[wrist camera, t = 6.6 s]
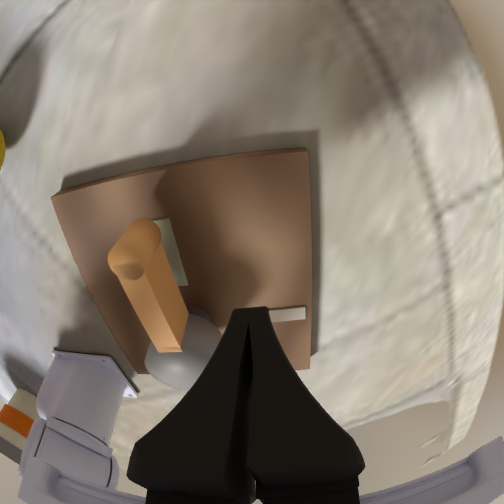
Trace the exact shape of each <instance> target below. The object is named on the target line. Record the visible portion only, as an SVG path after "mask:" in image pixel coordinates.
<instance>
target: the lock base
mask: <svg viewBox="0 0 504 504" xmlns="http://www.w3.org/2000/svg"><path fill="white" fill-rule="evenodd" d="M51 200H52V203H53V206H54V209H55V212H56V215H57V217H58V220H59V223H60V225H61V228H62V231H63V233H64V236H65V238H66V241H67V243H68V245H69V248H70V250H71V253H72V255H73V257H74V259H75V262H76V264H77V266H78V268H79V270H80V273H81V275H82V277H83V279H84V281H85V283H86V285H87V287H88V289H89V291H90V293H91V295H92V297H93V299H94V301H95V303H96V305H97V307H98V309H99V310H100V312H101V314H102V316H103V318H104V320H105V321H106V323H107V325H108V327H109V328H110V330H111V332H112V333H113V335H114V337H115V339H116V340H117V342H118V344H119V345H120V347H121V348H122V350H123V352H124V353H125V355H126V356H127V358H128V359H129V361H130V363H131V364H132V366H133V367H134V369H135V370H136V372H137V373H138V374H150V373H149V372H148V370H147V369H146V366H145V357H146V354H147V351H148V348H149V345H150V342H151V339H150V337H149V335H148V334H147V332H146V330H145V328H144V327H143V325H142V323H141V321H140V319H139V317H138V316H137V314H136V312H135V310H134V308H133V306H132V304H131V302H130V300H129V298H128V297H127V295H126V293H125V291H124V289H123V287H122V285H121V282H120V280H119V278H118V276H117V275H116V274H115V273H114V272H113V271H112V270H111V268H110V266H109V264H108V254H109V252H110V250H111V249H112V248H113V246H114V245H115V244H116V242H117V241H118V240H119V238H120V237H121V236H122V235H123V233H124V232H125V231H126V229H127V228H128V227H129V226H130V224H131V223H132V222H133V221H134V220H136V219H138V218H147V219H150V220H152V221H153V222H155V223H156V224H157V225H158V227H159V228H160V230H161V234H162V238H161V243H162V246H163V249H164V251H165V254H166V257H167V260H168V262H169V265H170V268H171V270H172V273H173V275H174V278H175V281H176V283H177V286H178V288H179V291H180V293H181V296H182V298H183V301H184V303H185V306H186V308H187V311H188V313H189V314H193V315H197V316H200V317H202V318H205V319H206V320H208V321H210V322H211V323H213V324H214V325H215V326H216V327H217V328H218V329H219V331H220V332H221V334H222V336H223V333H224V331H225V329H226V327H227V324H228V322H229V319H230V317H231V314H232V311H233V310H234V309H238V308H250V307H261V306H266V307H268V308H269V315H270V319H271V322H272V325H273V328H274V331H275V333H276V336H277V338H278V340H279V342H280V344H281V346H282V349H283V351H284V352H285V354H286V356H287V358H288V360H289V362H290V363H291V365H292V367H293V368H294V370H304V369H310V354H311V325H312V224H311V195H310V175H309V158H308V151H307V150H306V149H305V147H303V148H289V149H278V150H267V151H257V152H249V153H240V154H232V155H225V156H218V157H211V158H204V159H198V160H192V161H186V162H180V163H175V164H169V165H164V166H159V167H154V168H149V169H144V170H140V171H135V172H131V173H126V174H122V175H118V176H113V177H109V178H105V179H101V180H98V181H94V182H90V183H86V184H83V185H79V186H76V187H72V188H69V189H65V190H62V191H59V192H58V193H56V194H55V195H53V196H52V197H51Z"/></svg>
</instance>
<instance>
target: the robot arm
mask: <svg viewBox="0 0 504 504" xmlns="http://www.w3.org/2000/svg"><path fill="white" fill-rule="evenodd" d="M52 355H53V357H54V360H53V362H52V364H51V366H50V368H49V370H48V372H47V374H46V376H45V378H44V380H43V383H42V385H41V387H40V389H39V391H38V394H37V399H36V406H37V411H38V414H39V416H40V418H39V419H35V420H34V422H33V425H32V427H31V429H30V432H29V434H28V437H27V440H26V442H25V445H24V448H23V451H22V455H21V461H20V465H19V468H18V471H19V473H20V474H19V476H20V478H21V480H22V482H21V486H20V490H19V493H18V497H19V498H20V499H22V500H23V501H25V502H26V503H28V504H252V503H253V502H254V501H255V500H256V499H260V501H261V502H262V503H263V504H489V503H490V502H492V501H493V500H495V499H496V498H498V497H499V496H500V495H502V494H503V493H504V441H503V438H502V437H501V436H499V437H498V438H496V439H494V440H493V441H491V442H489V443H487V444H486V445H484V446H482V447H480V448H479V449H477V450H476V451H474V452H473V453H471V454H470V455H469V456H468V457H467V458H465V459H463V460H460V461H458V462H456V463H454V464H452V465H450V466H448V467H445V468H443V469H441V470H439V471H436V472H434V473H431V474H428V475H426V476H423V477H421V478H418V479H415V480H412V481H410V482H407V483H404V484H401V485H397V486H394V487H391V488H387V489H384V490H380V491H377V492H373V493H369V494H365V495H361V496H359V492H358V486H359V479H358V475H359V474H360V473H361V472H362V471H363V470H364V468H365V463H364V460H363V457H362V455H361V452H360V450H359V448H358V446H357V445H356V443H355V441H354V439H353V438H352V437H351V436H350V435H349V434H348V433H347V432H346V431H345V430H344V429H342V428H341V427H340V426H339V425H338V424H337V423H336V422H335V421H334V420H333V419H332V417H331V416H330V415H329V414H328V413H327V412H326V411H325V410H324V409H323V408H322V406H321V405H320V404H319V403H318V402H317V400H316V399H315V398H314V397H313V396H312V394H311V393H310V392H309V390H308V389H307V388H306V386H305V385H304V384H303V382H302V381H301V379H300V378H299V376H298V375H297V373H296V372H295V370H294V368H293V367H292V365H291V363H290V362H289V360H288V358H287V356H286V354H285V352H284V351H283V349H282V346H281V344H280V342H279V340H278V338H277V336H276V333H275V331H274V328H273V325H272V322H271V319H270V315H269V308H268V307H266V306H261V307H250V308H238V309H234V310H233V311H232V314H231V317H230V319H229V322H228V324H227V327H226V329H225V331H224V333H223V336H222V338H221V340H220V342H219V344H218V346H217V348H216V350H215V351H214V353H213V355H212V357H211V358H210V360H209V362H208V363H207V365H206V367H205V368H204V370H203V372H202V373H201V375H200V376H199V378H198V379H197V380H196V382H195V383H194V384H193V386H192V387H191V389H190V390H189V391H188V392H187V393H186V395H185V396H184V397H183V398H182V400H181V401H180V402H179V403H178V404H177V405H176V406H175V408H174V409H173V410H172V411H171V412H170V413H169V414H168V415H167V416H166V417H165V418H164V419H163V420H162V421H161V422H160V423H159V424H157V425H156V426H155V427H154V428H153V429H152V430H150V431H149V432H148V433H147V434H146V435H144V436H143V437H142V438H141V439H140V440H138V441H137V442H136V443H135V445H134V448H133V451H132V453H131V456H130V461H129V465H128V470H127V477H128V478H129V480H131V481H132V482H134V483H136V484H138V485H140V486H142V487H144V488H146V489H147V495H146V498H145V497H141V496H136V495H132V494H128V493H124V492H120V491H117V490H116V488H117V484H118V480H119V465H118V463H117V460H116V458H115V457H114V456H113V455H112V451H113V449H112V448H110V447H109V443H110V439H111V435H112V432H113V428H114V425H115V421H116V418H117V414H118V411H119V408H120V404H121V401H122V398H123V396H124V397H133V398H137V397H138V393H137V392H136V391H135V389H134V388H133V387H132V385H131V384H130V383H129V381H128V380H127V379H126V377H125V376H124V375H123V373H122V372H121V370H120V369H119V368H118V366H117V365H116V363H115V362H114V360H113V359H112V358H111V357H109V356H100V355H89V354H79V353H70V352H61V351H52ZM255 481H256V492H255Z"/></svg>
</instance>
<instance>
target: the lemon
mask: <svg viewBox="0 0 504 504" xmlns="http://www.w3.org/2000/svg"><path fill="white" fill-rule="evenodd" d="M4 157H5V140H4V136H3V133H2V131H1V130H0V169H1V167H2V164H3V161H4Z"/></svg>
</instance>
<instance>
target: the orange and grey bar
mask: <svg viewBox="0 0 504 504" xmlns="http://www.w3.org/2000/svg"><path fill="white" fill-rule="evenodd" d="M161 238H162V234H161V230H160V228H159V227H158V225H157V224H156V223H155V222H153V221H152V220H150V219H147V218H138V219H136V220H134V221H133V222H132V223H131V224H130V226H129V227H128V228H127V229H126V231H125V232H124V233H123V235H122V236H121V237H120V238H119V240H118V241H117V242H116V244H115V245H114V246H113V248H112V249H111V250H110V252H109V254H108V264H109V266H110V268H111V270H112V271H113V272H114V273H115V274H116V275H117V276H118V278H119V280H120V282H121V285H122V287H123V289H124V291H125V293H126V295H127V297H128V298H129V300H130V302H131V304H132V306H133V308H134V310H135V312H136V314H137V316H138V317H139V319H140V321H141V323H142V325H143V327H144V328H145V330H146V332H147V334H148V335H149V337H150V339H151V342H150V345H149V348H148V351H147V354H146V357H145V366H146V369H147V370H148V372H149V373H150V374H151V375H152V376H153V377H154V378H155V379H157V380H158V381H160V382H162V383H163V384H166V385H168V386H170V387H174V388H177V389H182V390H190V389H191V387H192V386H193V384H194V383H195V382H196V380H197V379H198V378H199V376H200V375H201V373H202V372H203V370H204V368H205V367H206V365H207V363H208V362H209V360H210V358H211V357H212V355H213V353H214V351H215V350H216V348H217V346H218V344H219V342H220V340H221V338H222V334H221V332H220V331H219V329H218V328H217V327H216V326H215V325H214V324H213V323H211V322H210V321H208V320H206V319H205V318H202V317H200V316H197V315H193V314H189V313H188V311H187V308H186V306H185V303H184V301H183V298H182V296H181V293H180V291H179V288H178V286H177V283H176V281H175V278H174V275H173V273H172V270H171V268H170V265H169V262H168V260H167V257H166V254H165V251H164V249H163V246H162V243H161Z"/></svg>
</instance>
